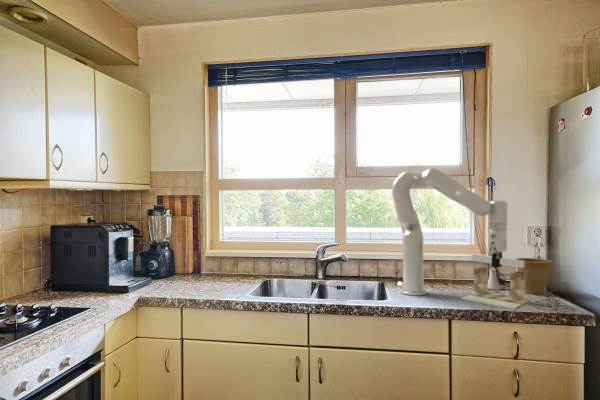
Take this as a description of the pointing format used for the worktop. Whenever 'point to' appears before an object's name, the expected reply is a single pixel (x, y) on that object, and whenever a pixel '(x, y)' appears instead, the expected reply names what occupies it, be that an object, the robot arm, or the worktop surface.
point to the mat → (491, 302)
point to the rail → (501, 261)
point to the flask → (493, 280)
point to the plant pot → (535, 274)
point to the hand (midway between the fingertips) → (496, 266)
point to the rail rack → (516, 294)
